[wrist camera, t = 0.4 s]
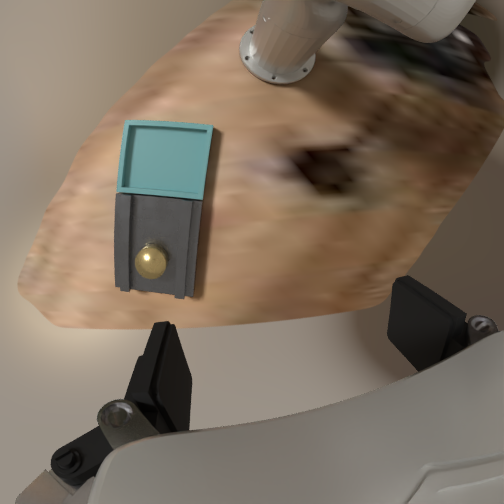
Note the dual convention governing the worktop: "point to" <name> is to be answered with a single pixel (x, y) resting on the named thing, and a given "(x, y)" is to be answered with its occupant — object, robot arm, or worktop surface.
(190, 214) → the slot plate
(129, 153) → the tray
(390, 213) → the worktop surface
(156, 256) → the brass puck
